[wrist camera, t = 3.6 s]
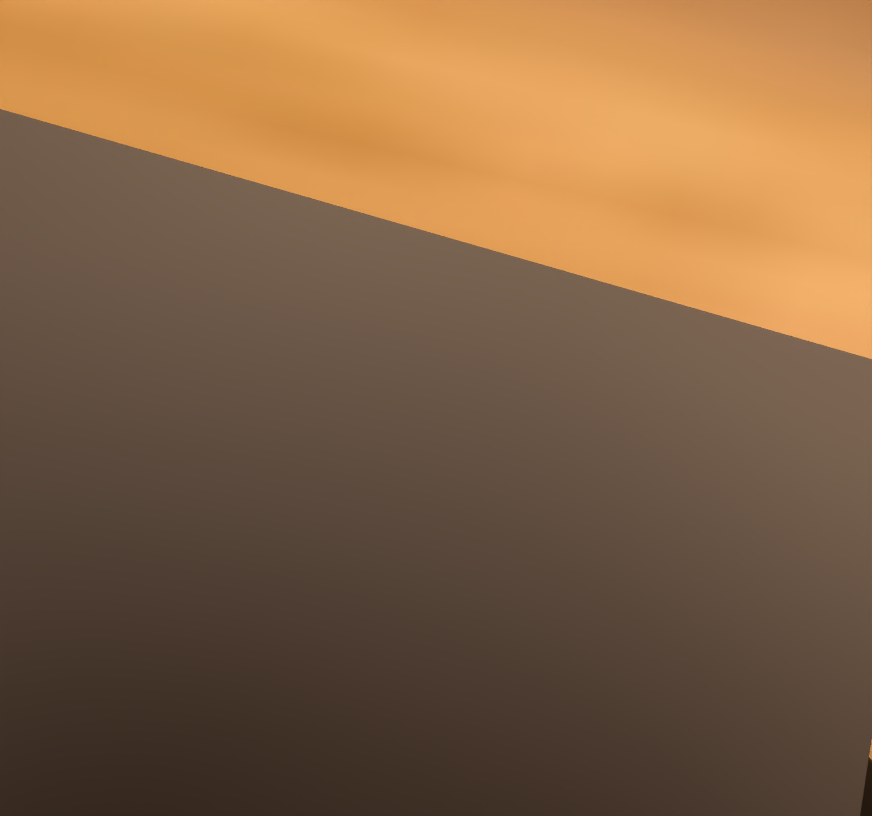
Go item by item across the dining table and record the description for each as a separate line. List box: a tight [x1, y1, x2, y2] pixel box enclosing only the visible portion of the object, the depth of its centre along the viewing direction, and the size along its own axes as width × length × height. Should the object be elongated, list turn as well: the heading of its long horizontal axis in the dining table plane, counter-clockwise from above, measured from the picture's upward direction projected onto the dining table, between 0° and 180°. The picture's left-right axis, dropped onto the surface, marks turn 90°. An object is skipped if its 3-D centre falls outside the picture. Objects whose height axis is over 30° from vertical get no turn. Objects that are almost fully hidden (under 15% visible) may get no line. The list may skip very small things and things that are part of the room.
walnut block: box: [0, 109, 872, 816], centre depth 10 cm, size 5×5×13 cm
